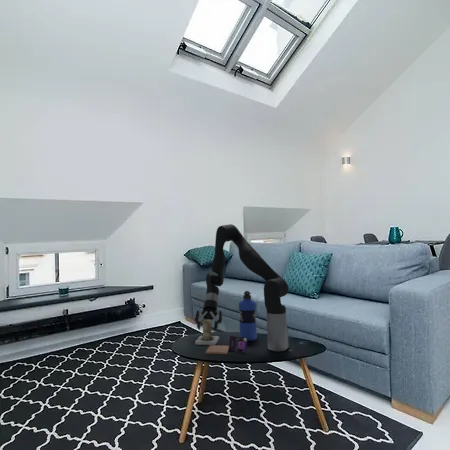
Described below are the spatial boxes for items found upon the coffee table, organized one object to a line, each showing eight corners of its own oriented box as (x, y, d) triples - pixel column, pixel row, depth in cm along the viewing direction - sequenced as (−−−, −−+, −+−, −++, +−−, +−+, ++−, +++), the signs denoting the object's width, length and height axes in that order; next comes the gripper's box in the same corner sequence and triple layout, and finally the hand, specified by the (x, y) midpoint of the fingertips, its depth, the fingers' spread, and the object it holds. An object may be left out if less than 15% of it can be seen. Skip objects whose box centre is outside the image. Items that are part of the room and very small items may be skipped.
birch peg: (208, 339, 178) (207, 318, 178) (213, 341, 174) (213, 320, 175) (201, 341, 175) (200, 320, 175) (206, 343, 171) (206, 321, 172)
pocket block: (200, 338, 180) (200, 335, 181) (219, 339, 179) (219, 336, 179) (195, 344, 170) (195, 341, 170) (215, 345, 168) (215, 342, 168)
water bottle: (256, 335, 183) (254, 289, 184) (258, 340, 174) (256, 292, 175) (239, 336, 183) (237, 290, 184) (240, 341, 174) (238, 292, 175)
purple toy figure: (229, 335, 161) (246, 337, 157) (233, 336, 165) (250, 338, 161) (227, 350, 159) (245, 352, 155) (232, 351, 163) (249, 353, 159)
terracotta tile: (210, 346, 166) (210, 345, 166) (230, 347, 164) (230, 345, 164) (205, 353, 156) (205, 351, 156) (226, 354, 154) (226, 352, 154)
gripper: (197, 298, 185) (192, 325, 173) (222, 299, 182) (219, 325, 170) (199, 306, 190) (195, 332, 178) (224, 306, 187) (221, 333, 175)
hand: (206, 329), depth 174 cm, fingers open, 8 cm apart
